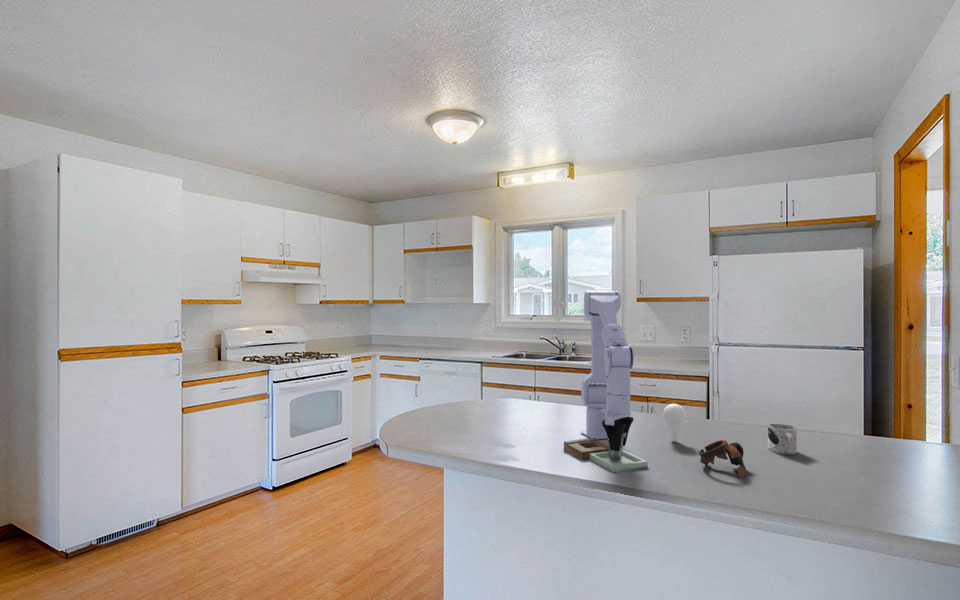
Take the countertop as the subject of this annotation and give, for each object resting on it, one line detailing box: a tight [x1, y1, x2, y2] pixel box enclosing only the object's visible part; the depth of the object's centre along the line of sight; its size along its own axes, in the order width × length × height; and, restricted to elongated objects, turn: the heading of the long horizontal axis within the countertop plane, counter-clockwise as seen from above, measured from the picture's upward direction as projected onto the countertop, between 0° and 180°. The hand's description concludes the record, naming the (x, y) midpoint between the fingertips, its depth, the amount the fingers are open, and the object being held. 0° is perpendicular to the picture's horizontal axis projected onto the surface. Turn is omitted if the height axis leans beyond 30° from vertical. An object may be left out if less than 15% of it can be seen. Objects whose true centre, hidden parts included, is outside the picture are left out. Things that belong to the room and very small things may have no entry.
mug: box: [767, 423, 798, 456], centre depth 131 cm, size 10×7×7 cm
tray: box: [589, 449, 649, 473], centre depth 122 cm, size 10×10×2 cm
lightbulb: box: [663, 403, 687, 443], centre depth 141 cm, size 6×6×11 cm
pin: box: [608, 431, 626, 461], centre depth 122 cm, size 4×4×7 cm
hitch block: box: [563, 437, 609, 461], centre depth 131 cm, size 10×9×2 cm
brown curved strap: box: [698, 439, 748, 479], centre depth 118 cm, size 12×10×8 cm
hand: (618, 447), depth 122 cm, fingers closed on pin, 4 cm apart
